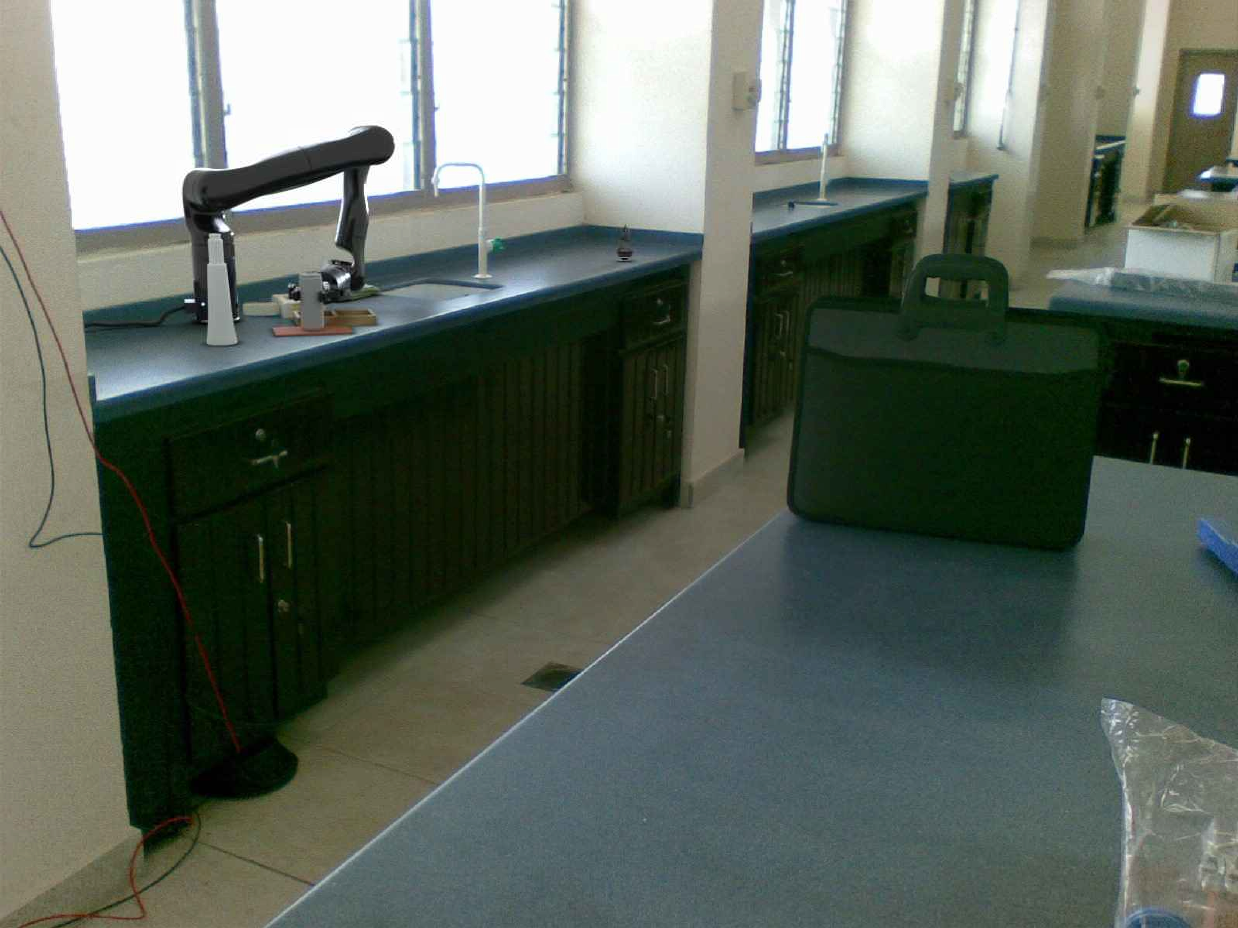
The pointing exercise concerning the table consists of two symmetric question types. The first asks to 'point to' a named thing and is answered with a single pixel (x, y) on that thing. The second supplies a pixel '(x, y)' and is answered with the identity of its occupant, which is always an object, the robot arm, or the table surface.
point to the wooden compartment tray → (344, 317)
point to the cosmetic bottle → (218, 297)
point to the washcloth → (362, 293)
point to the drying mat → (300, 332)
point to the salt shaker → (625, 244)
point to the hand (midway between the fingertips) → (308, 296)
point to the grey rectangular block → (311, 301)
